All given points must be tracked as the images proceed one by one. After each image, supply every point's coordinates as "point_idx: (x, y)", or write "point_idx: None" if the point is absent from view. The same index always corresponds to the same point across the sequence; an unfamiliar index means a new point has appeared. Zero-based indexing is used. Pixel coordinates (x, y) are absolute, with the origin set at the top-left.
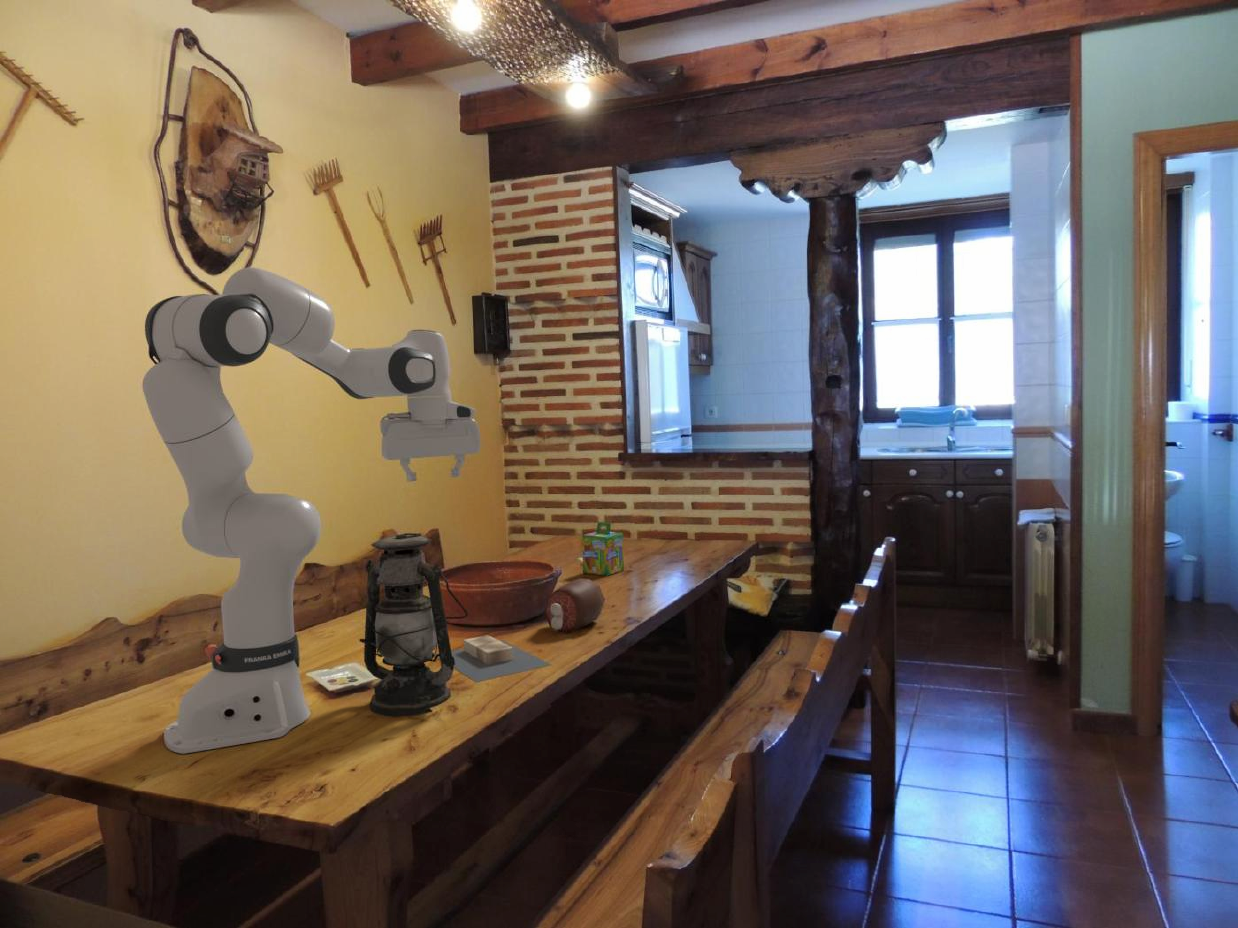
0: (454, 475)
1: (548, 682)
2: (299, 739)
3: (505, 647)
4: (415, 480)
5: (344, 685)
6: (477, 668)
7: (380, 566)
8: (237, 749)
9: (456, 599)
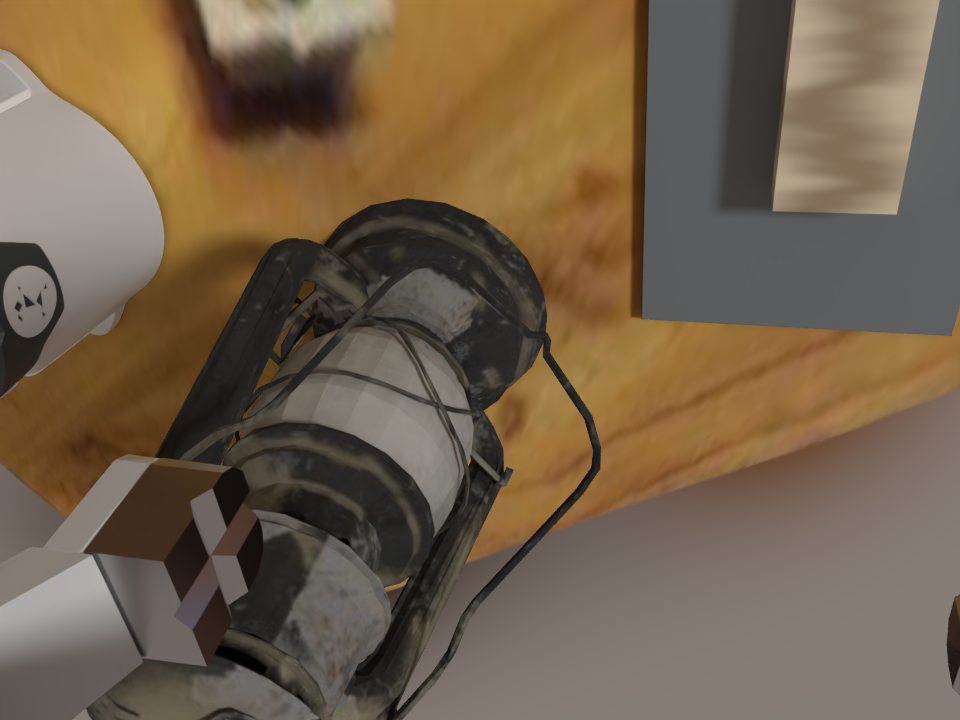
0: (958, 671)
1: (836, 427)
2: (154, 359)
3: (875, 190)
4: (248, 548)
5: (260, 28)
6: (715, 200)
7: None
8: None
9: (521, 556)
